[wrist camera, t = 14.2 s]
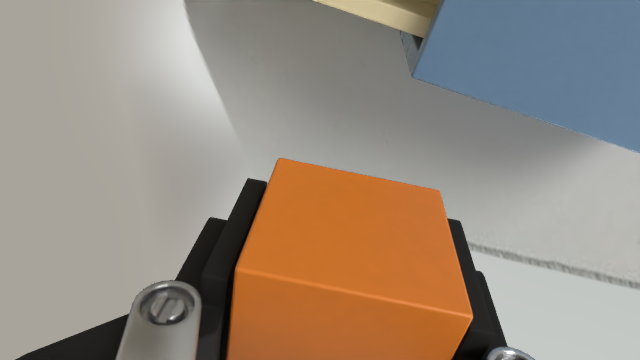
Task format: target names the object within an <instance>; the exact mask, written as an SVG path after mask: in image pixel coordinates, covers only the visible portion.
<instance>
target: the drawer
mask: <svg viewBox="0 0 640 360" xmlns="http://www.w3.org/2000/svg"><path fill="white" fill-rule="evenodd" d="M313 1H316V2H319V3H322V4H325V5H328V6H330V7H333V8H336V9H339V10H342V11H345V12H348V13H351V14H354V15H357V16H360V17H363V18H366V19H369V20H372V21H375V22H378V23H381V24H384V25H387V26H389V27H392V28H395V29H398V30H401V31H404V32H407V33H410V34H413V35H416V36H419V37H422V38H424V36H425V34H426V31H427V29H428V27H429V24H430V22H431V19H432V17H433V15H434V12H435V10H436V7H437V5H438V3H439V0H313Z"/></svg>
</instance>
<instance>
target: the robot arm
mask: <svg viewBox="0 0 640 360" xmlns="http://www.w3.org/2000/svg"><path fill="white" fill-rule="evenodd" d="M266 188H267V182H265V181H260V180H255V179H250V178H248V179H247V181H246V183H245V185H244V187H243V189H242V191H241V193H240V195H239V197H238V199H237V202H236V204H235V206H234V208H233V210H232V212H231V214H230V216H229V218H228V220H222V219H218V218H212V217H211V218H209V219H208V221H207V222H206V224H205V226H204V228H203V230H202V231H201V233H200V235H199V237H198V239H197V241H196V243H195V244H194V246H193V248H192V250H191V252H190V253H189V255H188V257H187V259H186V261H185V263H184V264H183V266H182V268H181V270H180V272H179V274H178V276H177V277H176V279H175V280H170V281H161V282H158V283H154V284H152V285H150V286H148V287H146V288H145V289H143V290H142V291H141V292H140V293H139V294H138V295H137V296H136V298H135V300H134V302H133V304H132V307H131V310H130V313H129V314H127V315H124V316H122V317H119V318H117V319H114V320H112V321H109V322H107V323H104V324H101V325H99V326H96V327H94V328H91V329H89V330H86V331H84V332H81V333H78V334H76V335H74V336H71V337H68V338H66V339H63V340H60V341H58V342H56V343H53V344H50V345H48V346H45V347H43V348H40V349H38V350H35V351H32V352H30V353H27V354H26V355H23V356H21V357H20V358H18V359H16V360H226V352H227V342H228V332H229V323H230V313H231V303H232V293H233V283H234V273H235V268H236V265H237V262H238V260H239V257H240V255H241V252H242V250H243V247H244V244H245V242H246V239H247V237H248V234H249V232H250V229H251V227H252V224H253V221H254V219H255V216H256V214H257V211H258V209H259V206H260V203H261V201H262V198H263V196H264V193H265V191H266ZM447 220H448V224H449V227H450V231H451V235H452V239H453V242H454V246H455V250H456V253H457V257H458V261H459V265H460V268H461V272H462V276H463V279H464V283H465V287H466V291H467V294H468V298H469V302H470V305H471V309H472V313H473V319H472V321H471V323H470V325H469V327H468V329H467V331H466V333H465V334H464V336H463V338H462V340H461V342H460V344H459V346H458V348H457V350H456V352H455V354H454V356H453V357H452V359H451V360H535V359H534V358H532V357H531V356H530V355H528V354H526V353H524V352H522V351H520V350H518V349H514V348H510V347H508V346H507V343H506V340H505V337H504V335H503V331H502V329H501V325H500V322H499V319H498V316H497V313H496V310H495V307H494V304H493V301H492V298H491V295H490V292H489V289H488V286H487V283H486V280H485V277H484V275H483V274H482V272H480V271H476V270H475V267H474V264H473V261H472V257H471V254H470V251H469V247H468V244H467V241H466V238H465V235H464V231H463V228H462V225H461V222H460V221H458V220H453V219H448V218H447Z"/></svg>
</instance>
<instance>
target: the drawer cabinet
mask: <svg viewBox="0 0 640 360" xmlns="http://www.w3.org/2000/svg"><path fill="white" fill-rule="evenodd" d="M400 35H401V39H402V43H403V46H404V50H405V54H406V58H407V61H408V65H409V69H410V72H411V76H412V78H415V79H418V80H421V81H424V82H427V83H430V84H433V85H436V86H439V87H442V88H445V89H448V90H451V91H454V92H457V93H460V94H463V95H466V96H469V97H472V98H475V99H478V100H481V101H484V102H487V103H490V104H493V105H496V106H499V107H502V108H505V109H508V110H511V111H514V112H517V113H520V114H523V115H526V116H529V117H532V118H535V119H538V120H541V121H544V122H547V123H550V124H553V125H556V126H559V127H562V128H565V129H568V130H571V131H574V132H577V133H580V134H583V135H586V136H589V137H592V138H595V139H598V140H601V141H604V142H607V143H610V144H613V145H616V146H619V147H622V148H625V149H628V150H631V151H634V152H637V153H640V0H439V3H438V5H437V7H436V10H435V12H434V15H433V17H432V19H431V22H430V24H429V27H428V29H427V31H426V34H425V36H424V38H422V37H419V36H416V35H413V34H410V33H407V32H404V31H400Z"/></svg>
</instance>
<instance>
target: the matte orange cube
mask: <svg viewBox="0 0 640 360" xmlns="http://www.w3.org/2000/svg"><path fill="white" fill-rule="evenodd" d="M472 319H473V313H472V309H471V305H470V302H469V298H468V294H467V291H466V287H465V283H464V279H463V276H462V272H461V268H460V265H459V261H458V257H457V253H456V250H455V246H454V242H453V239H452V235H451V231H450V227H449V224H448V220H447V216H446V213H445V209H444V205H443V201H442V198H441V194H440V191H438V190H435V189H430V188H425V187H421V186H416V185H411V184H406V183H401V182H396V181H391V180H386V179H381V178H376V177H371V176H367V175H362V174H357V173H352V172H347V171H342V170H337V169H332V168H327V167H322V166H317V165H313V164H308V163H303V162H298V161H293V160H288V159H283V158H279V159H278V160H277V162H276V165H275V168H274V170H273V173H272V175H271V178H270V180H269V183H268V185H267V188H266V191H265V193H264V196H263V198H262V201H261V203H260V206H259V209H258V211H257V214H256V216H255V219H254V221H253V224H252V227H251V229H250V232H249V234H248V237H247V239H246V242H245V244H244V247H243V250H242V252H241V255H240V257H239V260H238V262H237V265H236V268H235V273H234V283H233V293H232V303H231V313H230V323H229V332H228V342H227V352H226V360H451V359H452V357H453V356H454V354H455V352H456V350H457V348H458V346H459V344H460V342H461V340H462V338H463V336H464V334H465V333H466V331H467V329H468V327H469V325H470V323H471V321H472Z"/></svg>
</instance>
